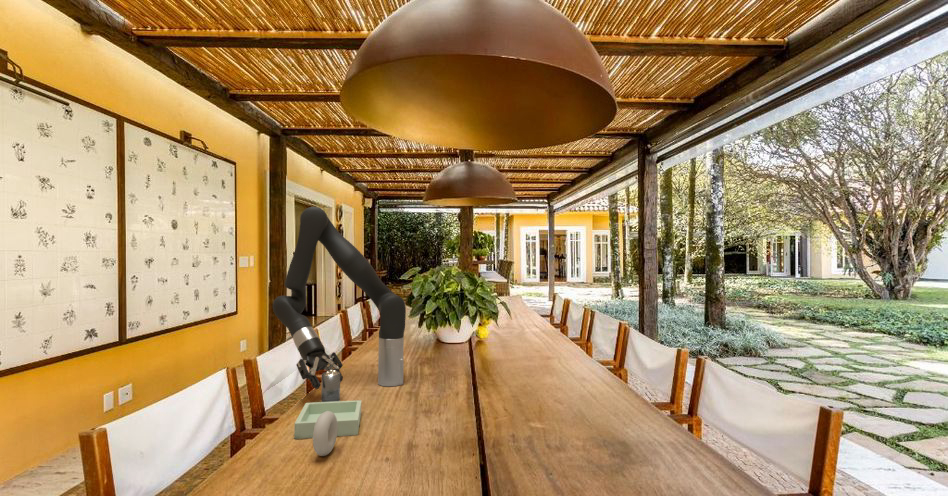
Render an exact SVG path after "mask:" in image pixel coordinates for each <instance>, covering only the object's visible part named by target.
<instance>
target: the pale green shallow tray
mask: <svg viewBox="0 0 948 496" xmlns="http://www.w3.org/2000/svg"><path fill="white" fill-rule="evenodd" d="M326 411H330V412H332V413H334V414H335V416H336V418H337V424H338V430H337V437H347V436H348V437H350V436H358V435H359V429H360V423H361V416H362V399H361V400H358V399H357V400H340V401H334V402H320V401H319V402H317V401H316V402H306V403H304V405H303V407H302V409H301V411H300V413H299V415H298V417H297V418H296V420H295V422H294V433H293V436H294V437H293V438H294V440H300V439H303V440H304V439H313V432H314V427H315V424H316V421H317V419H318V417H319V416H320V415H321V414H322V413H324V412H326Z"/></svg>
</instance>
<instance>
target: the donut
mask: <svg viewBox="0 0 948 496" xmlns="http://www.w3.org/2000/svg"><path fill="white" fill-rule="evenodd" d="M337 430H338V424H337V418H336V416H335V414H334V413H332V412H330V411H326V412H324V413H322V414H321V415H320V416H319V417H318V419H317V421H316V424H315V427H314V432H313V438H312V446H313V447H312V448H313V450H314V452H315V453H316V455H318V456H321V457H325V456H327V455H329V454H330V453H331V452H332V450H333V449H334V446H335V444H336V442H337V437H338V436H337Z"/></svg>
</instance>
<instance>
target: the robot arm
mask: <svg viewBox="0 0 948 496" xmlns="http://www.w3.org/2000/svg"><path fill="white" fill-rule="evenodd" d="M318 242H320V244H321V245H322V246H323V247H324V248H325V249H326V250H327V252H328V254H329V255H330V257H331V259H333V262H335V264H336V265H337V266H338V268H339V269H340V270H341V271H342V272H343V273H344V274H345V275H346V277H347V278H349V280H350V281H352V282H353V284H354V285H356V286H357V287H358V288H359V289H360V290H362V291H363V292H364V293H365V294H366V295H367V296H368V297H369V299H370V300H371V301H372V303H373V304H374V305H375V307H376V309H377V310H378V312H379V313H380V317H379V318H380V319H379V320H380V325H379V330H378V360H377V361H378V363H377V365H378V366H377V385H379V386H381V387H396V386H397V387H398V386H400V385H401V386H402V385H404V360H405V359H404V343H405V342H404V340H405V338H404V337H405V330H406V314H407V312H406V310H407V308H406V303H405V300H404V299H403V298H402V297H401V296H400V295H397V294H396V293H394V292H393V291H392V290H391V289H390V288H389V287H388V286H387V285H386V284H385V283H384V282H383V281H382V280H381V278H380V276H379V275H378V274H377V272H376V270H375V269H374V267H373V266H372V264H371V263H370V261H368V260H367V258H366V257H365V256H364V255H363V254H362V252H361V251H360V250H358V248H357V247H356V246H355V245H354V244H352V243H351V241H349V240H348V239H346V238H345V237H344V236H343V235H342V234H341V233H340V232H339V231H338V229H337V228H336V227H335V226H334V224H333V223H332V222H331V220H330V218H329V216H328V215H327V213H326V212H325V210H324V209H323V208H321V207H317V206H310V207H307V208H305V209H304V210H303V211H302V213H301V214H300V217H299V232H298V238H297V242H296V247H295V250H294V252H293V255H292V259H291V262H290V264H289V267H288V269H287V270H288V271H287V274H286V277H285V281H284V287H285V288H286V289H288V290H290V291H291V292H290V293H291V294H290V295H279V296H277V297H276V298H275V299H274V300H273V301H272V310H273V313H274V315H275V317H276V318H277V319H278V320H279V322H281V324H282V325H284V327H286V328H287V329H288V332H289V334H290V335H291V337H292V340H293V343H294V345H295V347H296V349H297V351H298V353H299V356H300V357H301V358H300V359H299V360H298V361H297V363H296V368H297V371H298V373H299V375H300V377H301V379H302V380H306V379H307V380H309V381H310V384H311V386H312V387H313V388H314V389H315V390H317V389H320V387H322V383H320V380H319V378H318V377H317V375H316V372H318V371H323V370H326V372H327V371H329V370H336V371H337V372H340V383H341V382H342V381H343V378H344V377H343V375H342V372H341V369H342V367H343V366H344V365H343V363H342V361H341V359H340V358H339V356H338V355H337V353H336V352H335V351H333V352H332V353H331V354H327V353H326V348H325V346H324V344H323V342H322V341H321V338H320V336H319V334H318V333H317V332H316V330H315V329H314V327H313V325H312V324H311V322H310V320H309V319H308V317H307V316H305V315H304V314H302V313H303V311H304V310H305V307H306V294H307V293H306V289H307V288H306V287H307V285H308V284H307V283H308V279H309V276H310V274H311V268H312V266H313V265H312V264H313V258H314V254H315V252H316V247H317V245H318ZM307 367H308V368H307Z"/></svg>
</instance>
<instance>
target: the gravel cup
mask: <svg viewBox="0 0 948 496" xmlns="http://www.w3.org/2000/svg"><path fill="white" fill-rule="evenodd" d="M340 372H341V371H340ZM340 372H337V371H336V370H329V371H327V370H326V371H325V372H322V374H321V395H320V396H321V398H320V401H321V402H334V401H341V399H340V398H341V396H340V395H341V382H340Z"/></svg>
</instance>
